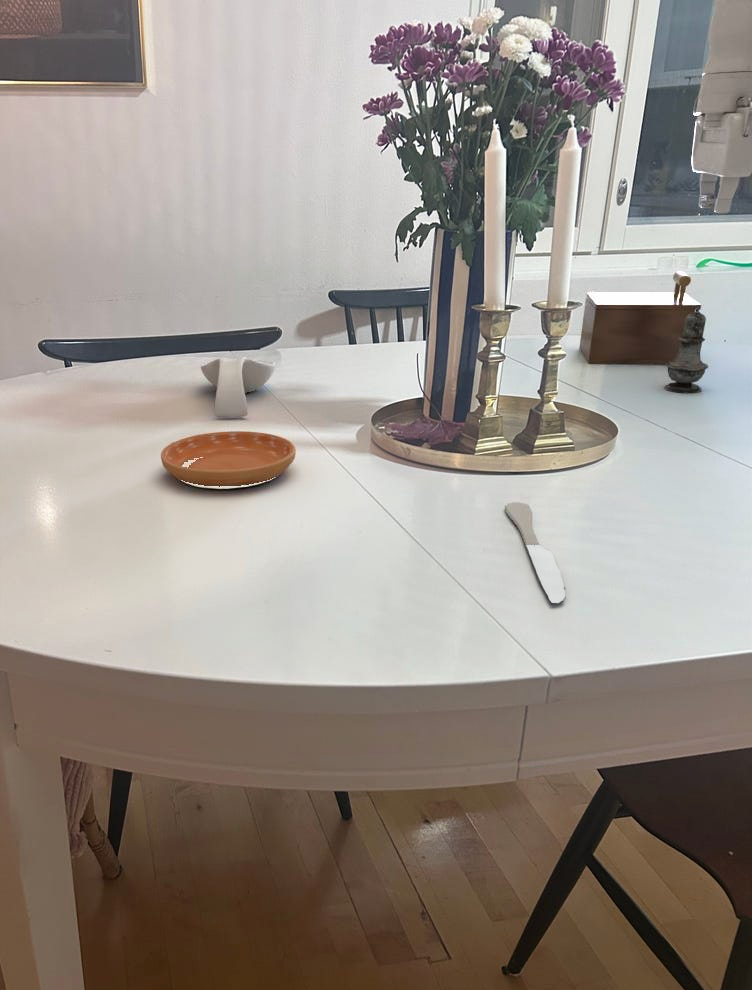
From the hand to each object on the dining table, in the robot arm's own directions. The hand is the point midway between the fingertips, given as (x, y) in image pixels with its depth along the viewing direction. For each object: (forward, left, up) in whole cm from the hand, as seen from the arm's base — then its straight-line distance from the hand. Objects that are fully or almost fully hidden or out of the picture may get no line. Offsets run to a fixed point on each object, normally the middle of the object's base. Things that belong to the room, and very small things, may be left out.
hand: (713, 210), depth 133 cm
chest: (+4, -20, -25) cm, 32 cm away
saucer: (+61, +49, -25) cm, 83 cm away
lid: (+4, -20, -16) cm, 25 cm away
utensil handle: (+28, +69, -25) cm, 79 cm away
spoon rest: (+68, +14, -25) cm, 73 cm away
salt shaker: (0, +3, -25) cm, 25 cm away
